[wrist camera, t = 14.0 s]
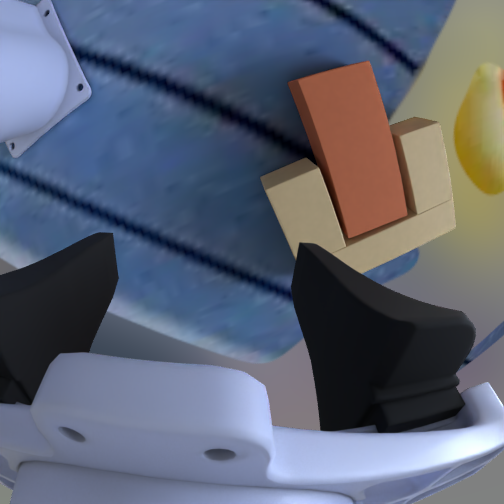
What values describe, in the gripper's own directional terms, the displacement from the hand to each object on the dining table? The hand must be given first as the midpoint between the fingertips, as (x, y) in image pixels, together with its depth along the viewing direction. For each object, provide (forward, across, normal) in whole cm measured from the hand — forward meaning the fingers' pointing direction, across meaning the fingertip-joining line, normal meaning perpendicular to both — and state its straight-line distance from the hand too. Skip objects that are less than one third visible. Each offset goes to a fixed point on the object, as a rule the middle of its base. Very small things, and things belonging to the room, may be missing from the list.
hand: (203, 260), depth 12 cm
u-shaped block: (+9, -10, -1) cm, 14 cm away
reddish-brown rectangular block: (+9, -8, -4) cm, 13 cm away
